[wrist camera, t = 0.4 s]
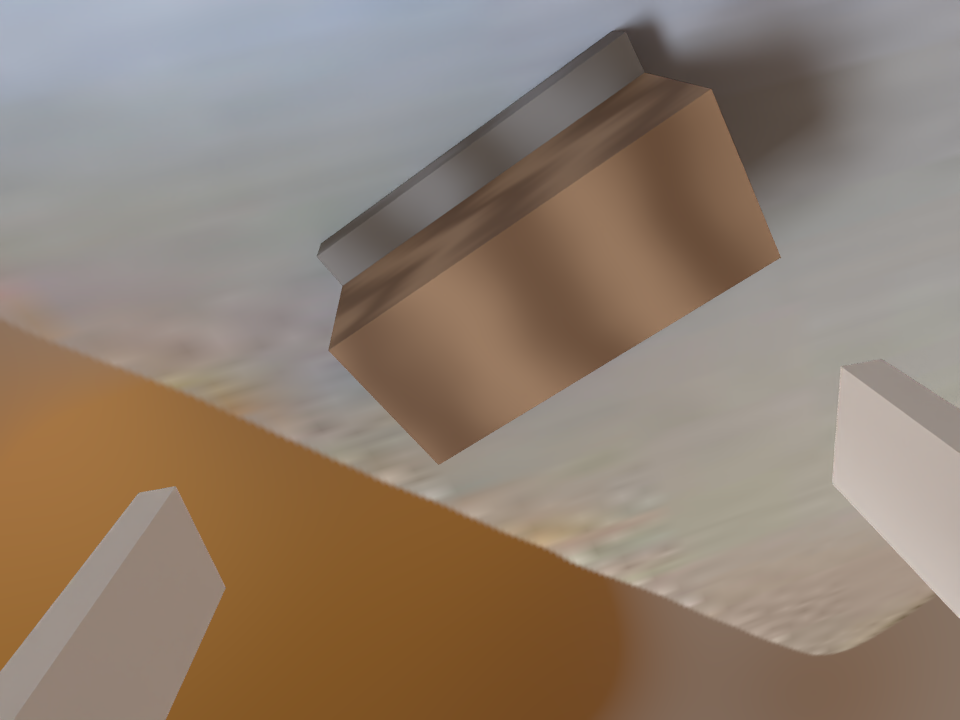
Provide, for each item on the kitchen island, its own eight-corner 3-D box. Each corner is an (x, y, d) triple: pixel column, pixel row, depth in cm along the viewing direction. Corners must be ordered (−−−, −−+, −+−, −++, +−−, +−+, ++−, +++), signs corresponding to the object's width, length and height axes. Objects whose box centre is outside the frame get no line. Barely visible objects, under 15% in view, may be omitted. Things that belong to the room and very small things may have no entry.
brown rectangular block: (449, 391, 38) (461, 488, 30) (321, 243, 32) (295, 316, 25) (706, 229, 34) (795, 292, 27) (612, 30, 29) (690, 37, 21)
